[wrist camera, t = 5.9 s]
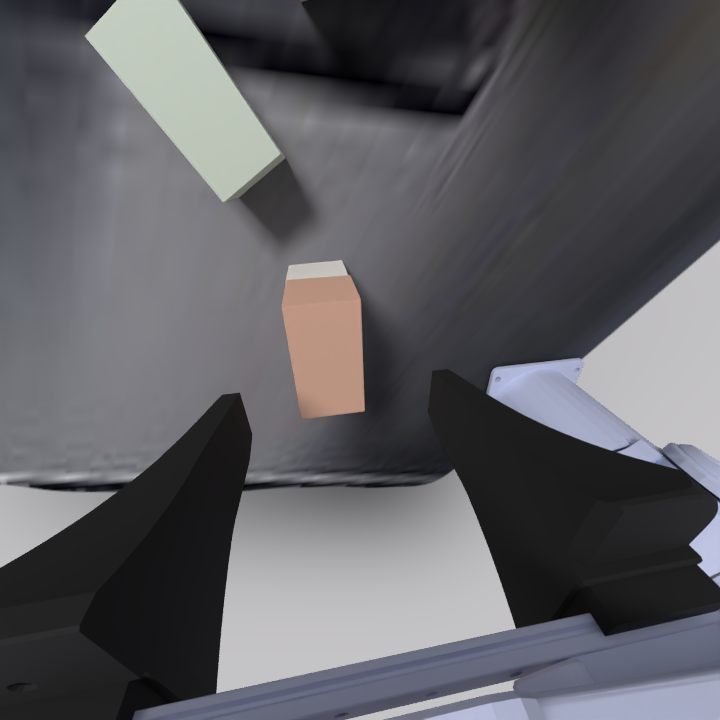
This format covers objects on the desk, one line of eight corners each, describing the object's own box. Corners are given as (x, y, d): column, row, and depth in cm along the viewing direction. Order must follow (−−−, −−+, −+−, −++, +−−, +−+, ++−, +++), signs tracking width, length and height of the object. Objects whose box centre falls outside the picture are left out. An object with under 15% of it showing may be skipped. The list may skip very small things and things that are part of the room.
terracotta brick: (355, 372, 19) (364, 411, 16) (302, 378, 18) (301, 419, 15) (350, 275, 16) (360, 299, 12) (286, 279, 15) (281, 306, 12)
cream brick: (349, 346, 22) (356, 373, 19) (304, 351, 21) (303, 380, 18) (341, 260, 19) (348, 276, 16) (289, 265, 18) (285, 282, 15)
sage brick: (285, 158, 16) (280, 153, 13) (239, 197, 16) (223, 202, 13) (188, 13, 13) (151, -39, 10) (135, 68, 13) (84, 36, 10)
